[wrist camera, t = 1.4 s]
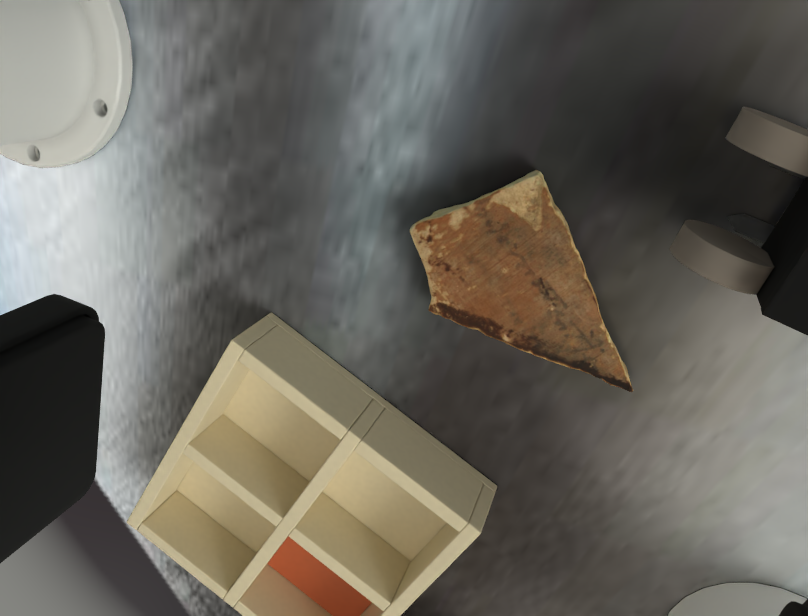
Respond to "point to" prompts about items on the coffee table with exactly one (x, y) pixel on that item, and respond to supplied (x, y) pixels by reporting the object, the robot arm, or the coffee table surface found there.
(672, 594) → the coffee table surface
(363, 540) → the open box
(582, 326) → the shard
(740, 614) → the cylinder with rectangular tab
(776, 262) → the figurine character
